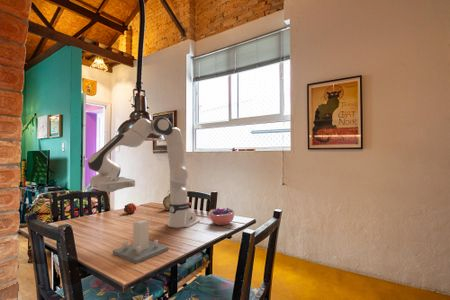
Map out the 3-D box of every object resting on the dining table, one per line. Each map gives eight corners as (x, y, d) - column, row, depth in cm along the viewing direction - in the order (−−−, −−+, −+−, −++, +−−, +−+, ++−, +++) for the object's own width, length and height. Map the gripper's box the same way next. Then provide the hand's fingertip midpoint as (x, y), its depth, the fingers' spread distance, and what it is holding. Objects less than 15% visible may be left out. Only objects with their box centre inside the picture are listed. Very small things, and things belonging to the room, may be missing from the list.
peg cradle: (144, 242, 132) (144, 232, 132) (168, 249, 122) (168, 239, 122) (112, 253, 117) (112, 243, 117) (136, 263, 107) (136, 251, 107)
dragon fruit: (125, 217, 186) (132, 215, 198) (134, 210, 186) (141, 209, 198) (119, 208, 187) (126, 206, 199) (129, 201, 188) (135, 200, 200)
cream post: (142, 245, 123) (142, 219, 123) (148, 248, 120) (148, 221, 120) (133, 249, 119) (133, 221, 119) (139, 251, 116) (140, 223, 116)
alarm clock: (162, 211, 200) (163, 191, 200) (162, 209, 205) (162, 189, 205) (176, 210, 203) (176, 190, 203) (176, 208, 208) (176, 189, 208)
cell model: (239, 222, 170) (239, 205, 170) (224, 230, 153) (224, 211, 153) (218, 218, 179) (218, 202, 179) (202, 225, 162) (202, 208, 162)
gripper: (91, 179, 129) (106, 181, 122) (126, 176, 146) (141, 178, 138) (91, 192, 129) (105, 194, 122) (126, 187, 146) (141, 189, 138)
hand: (125, 186), depth 130 cm, fingers open, 8 cm apart
